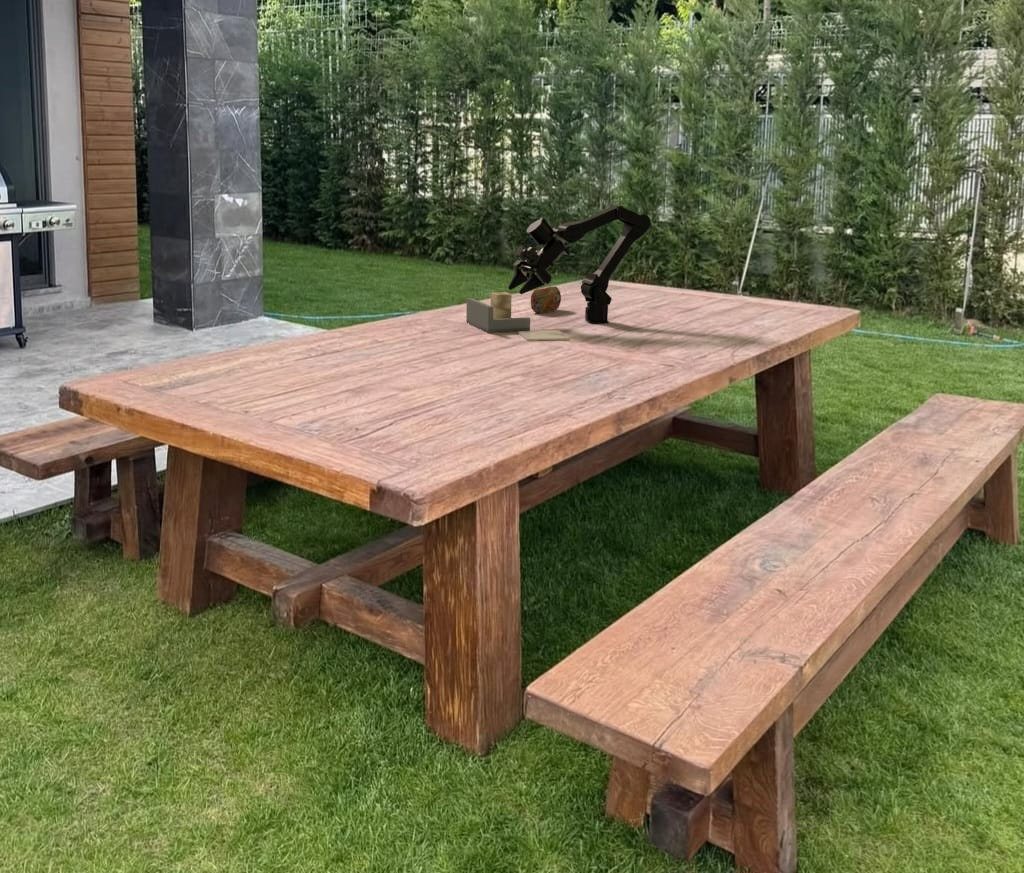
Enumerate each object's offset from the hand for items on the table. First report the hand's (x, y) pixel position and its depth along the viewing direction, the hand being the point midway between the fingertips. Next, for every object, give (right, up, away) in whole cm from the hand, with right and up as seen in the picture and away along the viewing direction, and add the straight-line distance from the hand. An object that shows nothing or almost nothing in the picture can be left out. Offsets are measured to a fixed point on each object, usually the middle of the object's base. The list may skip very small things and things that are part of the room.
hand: (514, 291), depth 349 cm
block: (-4, -9, +1) cm, 10 cm away
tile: (+9, -16, -14) cm, 22 cm away
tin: (+11, -3, +32) cm, 34 cm away
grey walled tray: (-5, -11, +1) cm, 12 cm away
